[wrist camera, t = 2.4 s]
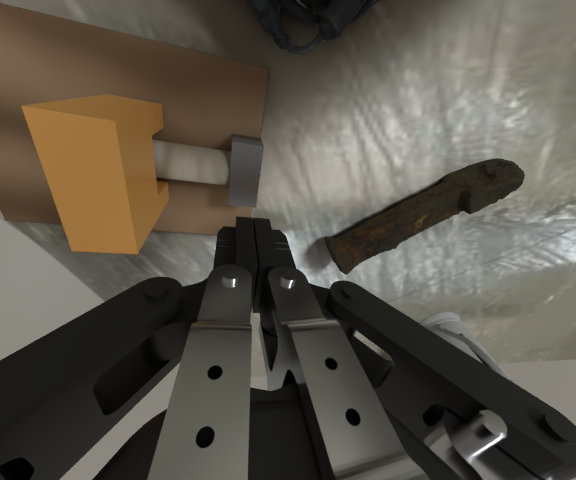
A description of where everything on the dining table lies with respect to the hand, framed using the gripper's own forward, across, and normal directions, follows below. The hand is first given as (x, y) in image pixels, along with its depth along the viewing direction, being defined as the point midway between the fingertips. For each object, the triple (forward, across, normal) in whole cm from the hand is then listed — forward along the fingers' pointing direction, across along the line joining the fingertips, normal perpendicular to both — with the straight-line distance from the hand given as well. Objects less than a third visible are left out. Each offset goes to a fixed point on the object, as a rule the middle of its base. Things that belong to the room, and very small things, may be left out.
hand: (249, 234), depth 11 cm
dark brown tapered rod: (+11, -17, +2) cm, 20 cm away
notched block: (+9, +7, -1) cm, 12 cm away
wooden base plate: (+11, +8, -1) cm, 14 cm away
